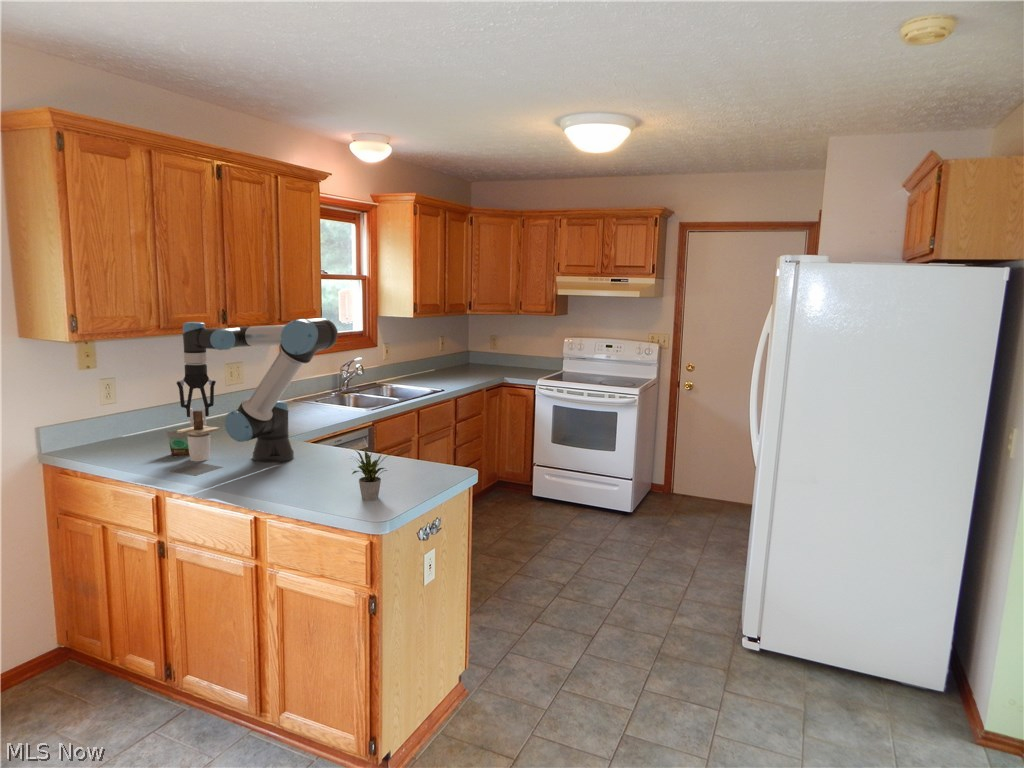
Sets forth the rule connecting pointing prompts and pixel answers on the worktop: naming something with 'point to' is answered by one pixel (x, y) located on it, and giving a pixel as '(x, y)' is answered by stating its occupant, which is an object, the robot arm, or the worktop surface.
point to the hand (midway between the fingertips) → (198, 424)
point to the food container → (178, 443)
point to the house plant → (369, 477)
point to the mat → (196, 469)
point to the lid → (198, 425)
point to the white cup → (199, 447)
